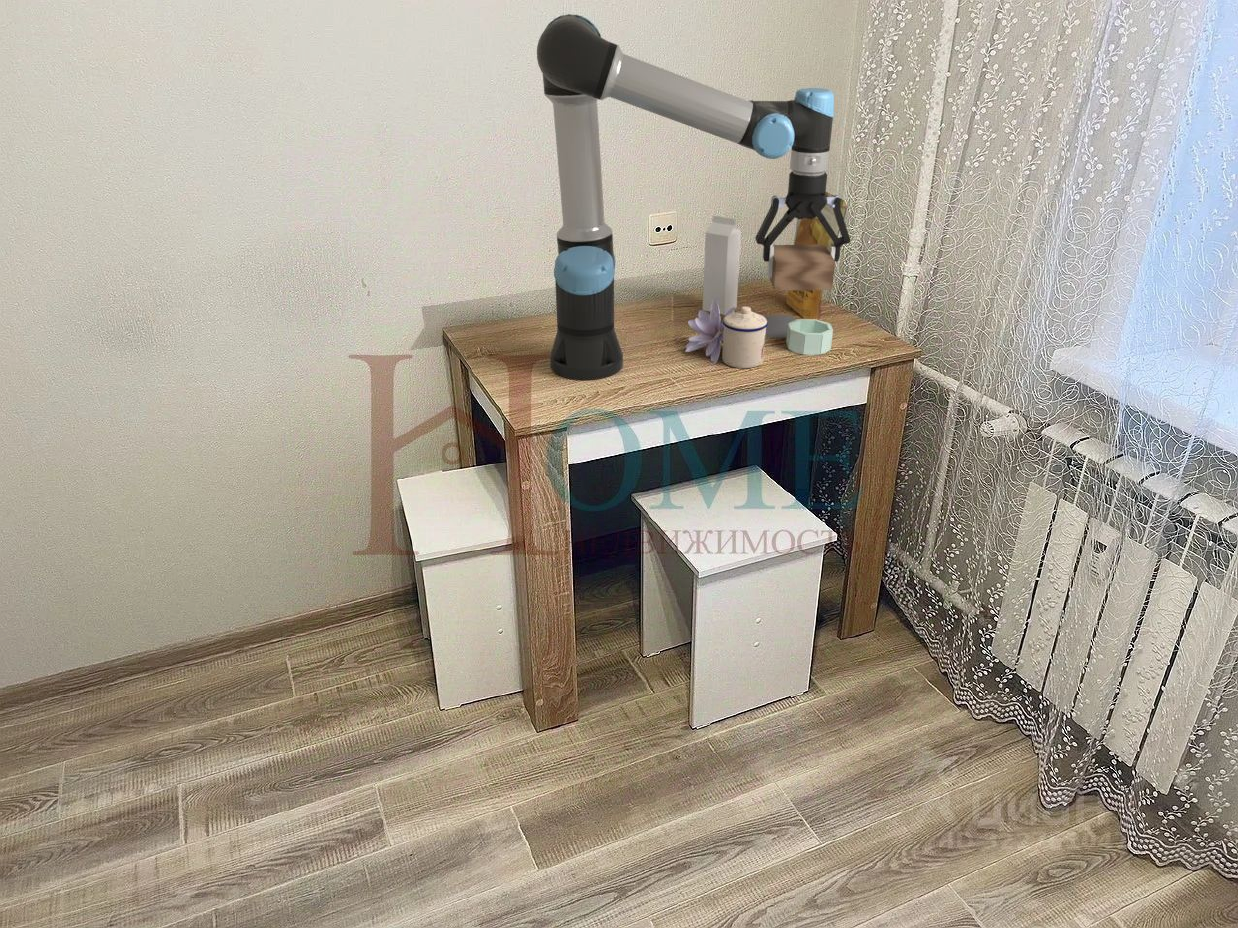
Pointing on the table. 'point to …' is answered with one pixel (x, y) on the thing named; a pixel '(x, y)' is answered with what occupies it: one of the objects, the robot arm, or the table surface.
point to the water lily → (708, 331)
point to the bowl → (809, 336)
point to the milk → (721, 264)
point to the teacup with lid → (744, 339)
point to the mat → (777, 325)
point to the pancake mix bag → (813, 234)
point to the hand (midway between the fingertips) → (799, 276)
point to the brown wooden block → (802, 267)
